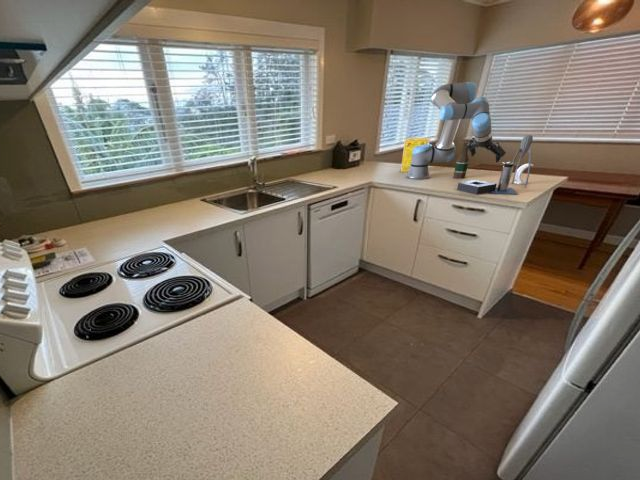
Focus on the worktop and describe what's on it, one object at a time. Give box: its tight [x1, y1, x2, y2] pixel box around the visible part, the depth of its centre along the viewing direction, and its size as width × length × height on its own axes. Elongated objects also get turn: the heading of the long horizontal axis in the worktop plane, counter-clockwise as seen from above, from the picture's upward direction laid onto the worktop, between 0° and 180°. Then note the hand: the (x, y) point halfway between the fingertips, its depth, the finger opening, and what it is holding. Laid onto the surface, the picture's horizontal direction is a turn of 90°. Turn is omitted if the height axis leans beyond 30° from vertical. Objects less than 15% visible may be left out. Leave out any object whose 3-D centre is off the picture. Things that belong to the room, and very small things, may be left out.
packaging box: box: [400, 136, 431, 173], centre depth 246 cm, size 16×16×25 cm
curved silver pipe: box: [513, 162, 534, 185], centre depth 188 cm, size 5×6×12 cm
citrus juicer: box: [511, 134, 534, 189], centre depth 180 cm, size 11×10×30 cm
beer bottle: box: [452, 142, 470, 180], centre depth 211 cm, size 8×8×24 cm
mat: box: [489, 186, 518, 196], centre depth 179 cm, size 14×12×1 cm
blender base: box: [456, 179, 498, 195], centre depth 184 cm, size 14×14×4 cm
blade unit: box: [496, 161, 518, 191], centre depth 175 cm, size 6×6×17 cm
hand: (485, 157), depth 176 cm, fingers open, 13 cm apart
